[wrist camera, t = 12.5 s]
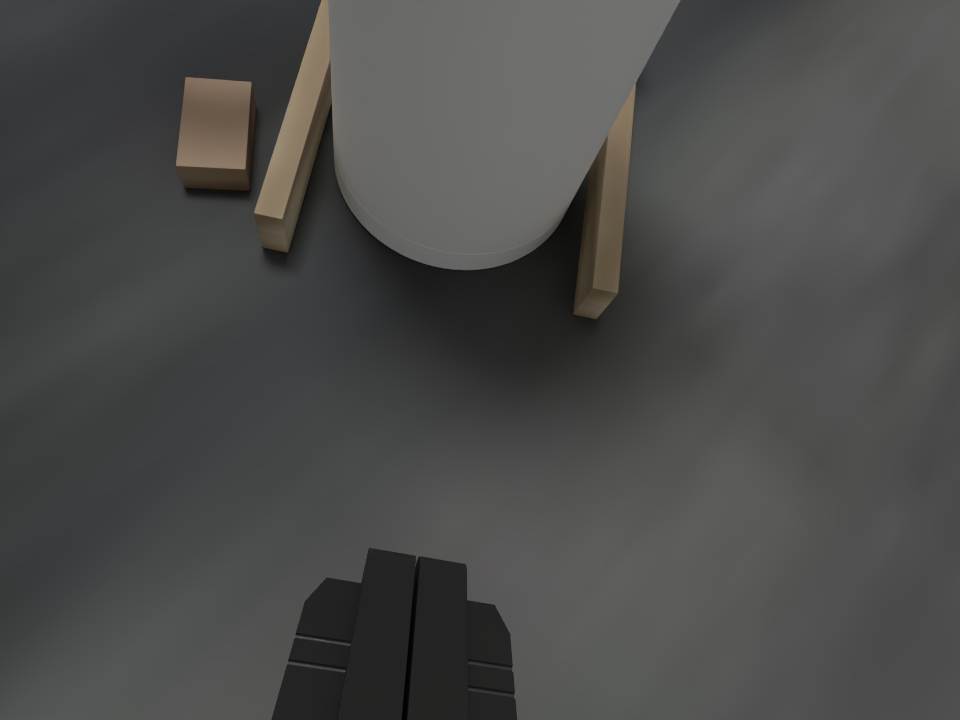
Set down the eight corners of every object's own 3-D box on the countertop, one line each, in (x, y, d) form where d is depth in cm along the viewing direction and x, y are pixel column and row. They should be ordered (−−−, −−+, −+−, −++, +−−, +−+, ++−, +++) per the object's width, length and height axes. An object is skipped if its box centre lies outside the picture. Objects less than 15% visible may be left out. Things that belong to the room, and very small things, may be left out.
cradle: (262, 247, 32) (247, 186, 28) (344, -21, 39) (343, -107, 34) (596, 319, 34) (634, 273, 29) (622, 51, 40) (656, -21, 36)
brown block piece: (251, 193, 34) (245, 169, 32) (185, 191, 33) (175, 165, 31) (256, 110, 35) (251, 81, 33) (194, 106, 35) (185, 77, 33)
